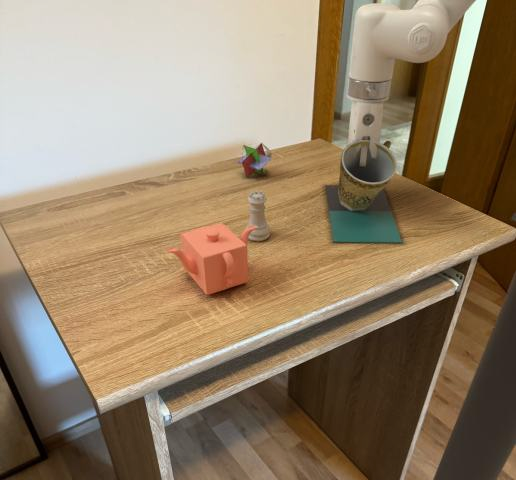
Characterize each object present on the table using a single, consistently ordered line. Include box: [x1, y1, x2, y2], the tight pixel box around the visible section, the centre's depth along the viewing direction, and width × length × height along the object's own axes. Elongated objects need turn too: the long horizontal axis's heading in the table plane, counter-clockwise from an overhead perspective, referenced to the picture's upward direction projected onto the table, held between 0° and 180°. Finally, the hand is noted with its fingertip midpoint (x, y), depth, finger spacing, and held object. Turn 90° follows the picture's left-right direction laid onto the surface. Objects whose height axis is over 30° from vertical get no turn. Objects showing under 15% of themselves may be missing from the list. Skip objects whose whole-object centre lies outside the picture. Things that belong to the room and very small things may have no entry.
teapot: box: [165, 222, 257, 296], centre depth 75 cm, size 12×15×8 cm
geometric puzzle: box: [237, 142, 273, 178], centre depth 107 cm, size 7×7×8 cm
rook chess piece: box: [245, 190, 271, 242], centre depth 85 cm, size 4×4×8 cm
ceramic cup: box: [338, 140, 398, 211], centre depth 91 cm, size 13×10×10 cm
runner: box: [325, 184, 403, 244], centre depth 95 cm, size 12×24×1 cm, turn 177°
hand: (355, 187), depth 99 cm, fingers closed
